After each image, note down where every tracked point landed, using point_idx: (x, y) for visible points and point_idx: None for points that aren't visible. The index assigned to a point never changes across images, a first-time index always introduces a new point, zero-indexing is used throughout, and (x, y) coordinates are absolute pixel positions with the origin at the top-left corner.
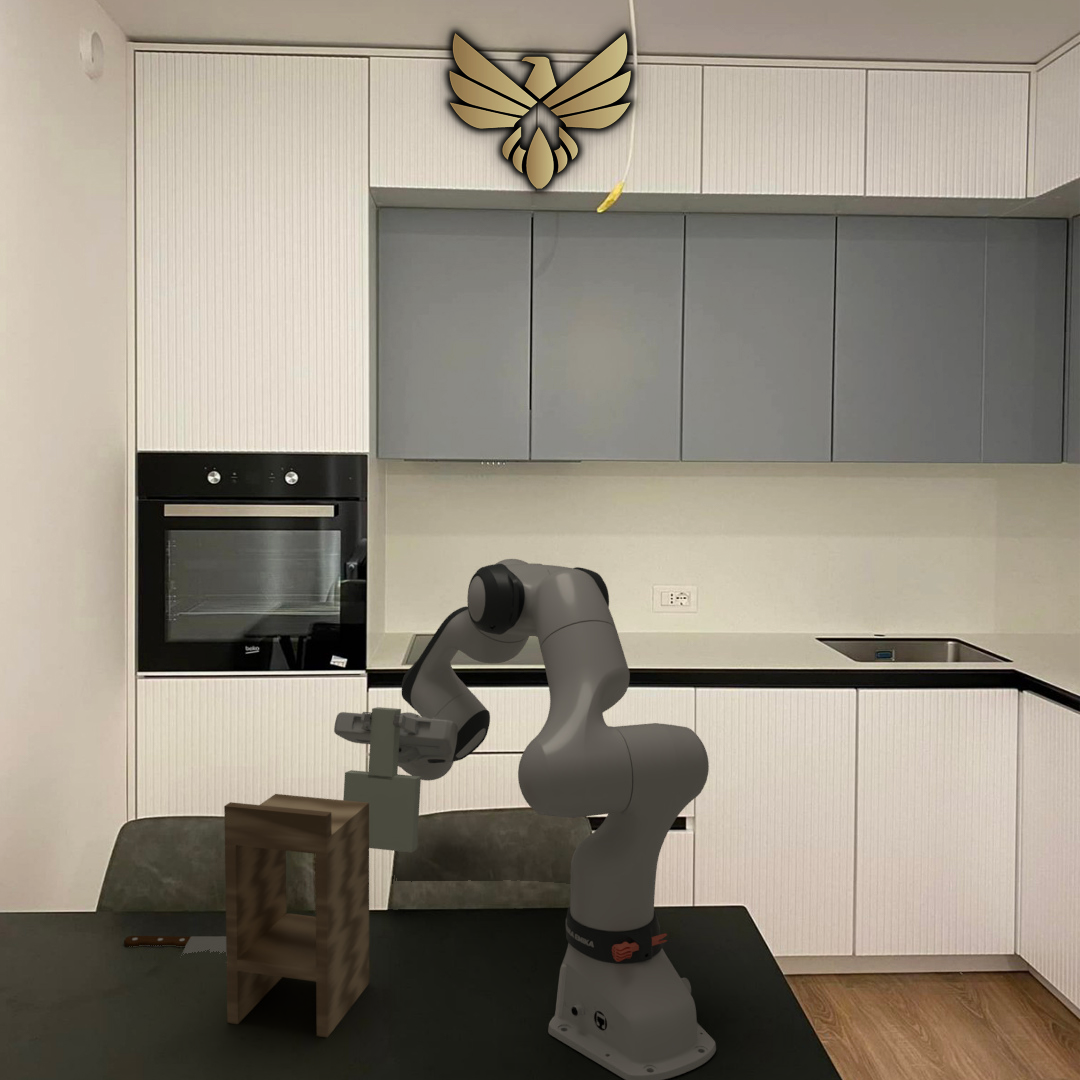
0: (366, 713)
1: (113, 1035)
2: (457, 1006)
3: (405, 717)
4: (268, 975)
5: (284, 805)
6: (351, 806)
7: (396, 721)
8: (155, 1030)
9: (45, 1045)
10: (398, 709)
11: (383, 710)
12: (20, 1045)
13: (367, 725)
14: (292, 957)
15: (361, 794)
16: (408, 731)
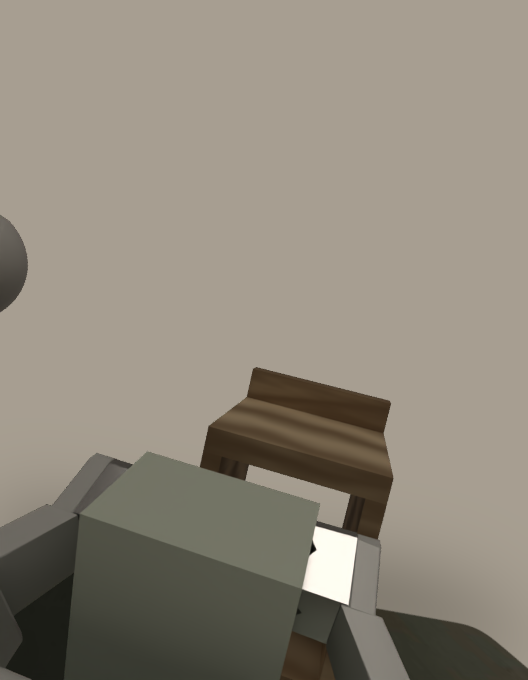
0: (346, 530)
1: (434, 661)
2: (22, 647)
3: (65, 494)
4: None
5: (347, 448)
6: (236, 425)
7: None
8: None
9: (486, 657)
10: (115, 483)
11: (231, 482)
12: (510, 661)
13: (329, 651)
14: None
15: None
16: (13, 613)
